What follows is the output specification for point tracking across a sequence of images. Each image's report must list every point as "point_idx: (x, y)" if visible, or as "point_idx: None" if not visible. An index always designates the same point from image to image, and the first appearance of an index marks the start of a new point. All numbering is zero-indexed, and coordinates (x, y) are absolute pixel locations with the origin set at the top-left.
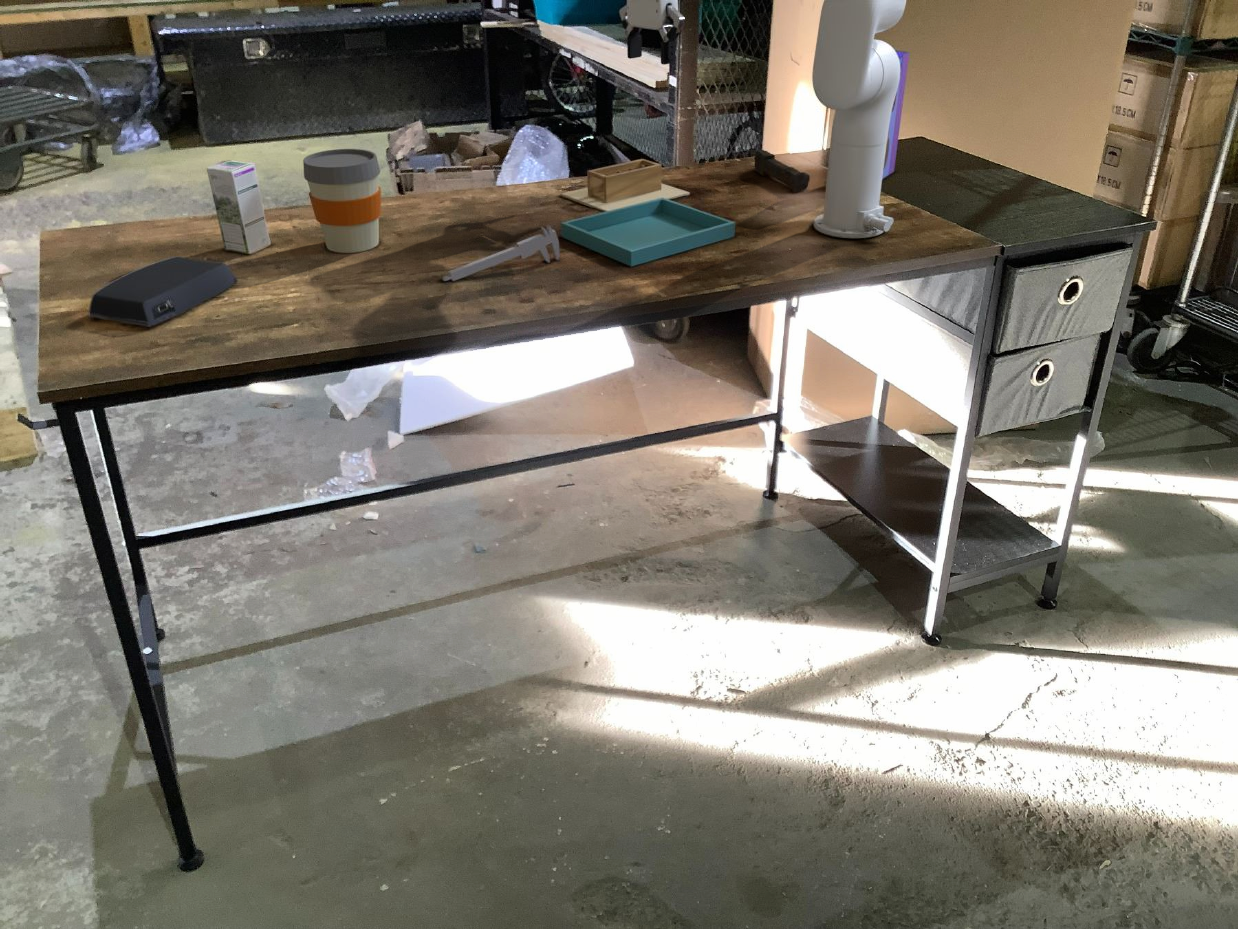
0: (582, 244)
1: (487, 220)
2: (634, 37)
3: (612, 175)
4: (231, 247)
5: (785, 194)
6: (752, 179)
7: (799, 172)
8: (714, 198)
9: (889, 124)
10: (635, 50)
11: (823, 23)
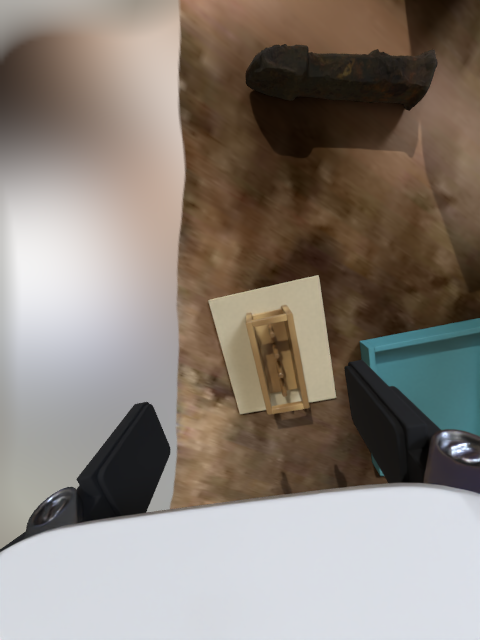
0: None
1: (282, 494)
2: (124, 511)
3: (306, 397)
4: None
5: (402, 128)
6: (298, 132)
7: (419, 64)
8: (351, 251)
9: None
10: (152, 450)
11: None
